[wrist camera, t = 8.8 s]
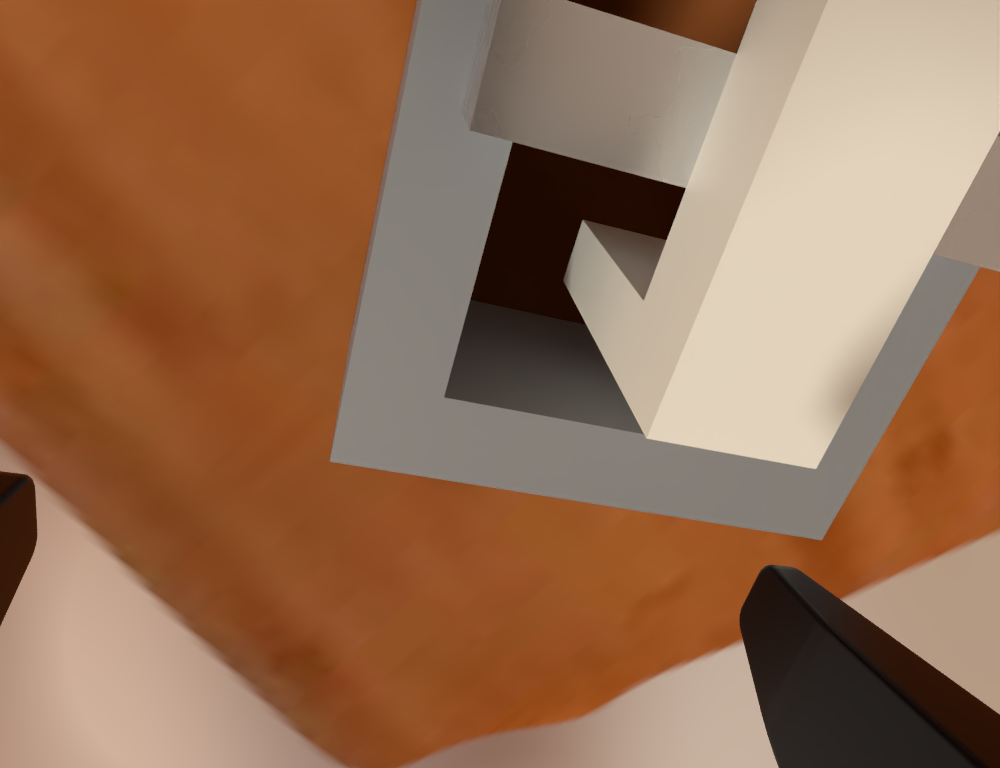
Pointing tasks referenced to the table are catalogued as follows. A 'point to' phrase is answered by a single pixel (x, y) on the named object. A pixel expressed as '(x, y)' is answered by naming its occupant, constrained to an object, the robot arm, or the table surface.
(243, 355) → the table surface
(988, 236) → the cross bar
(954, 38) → the cream block
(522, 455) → the frame
